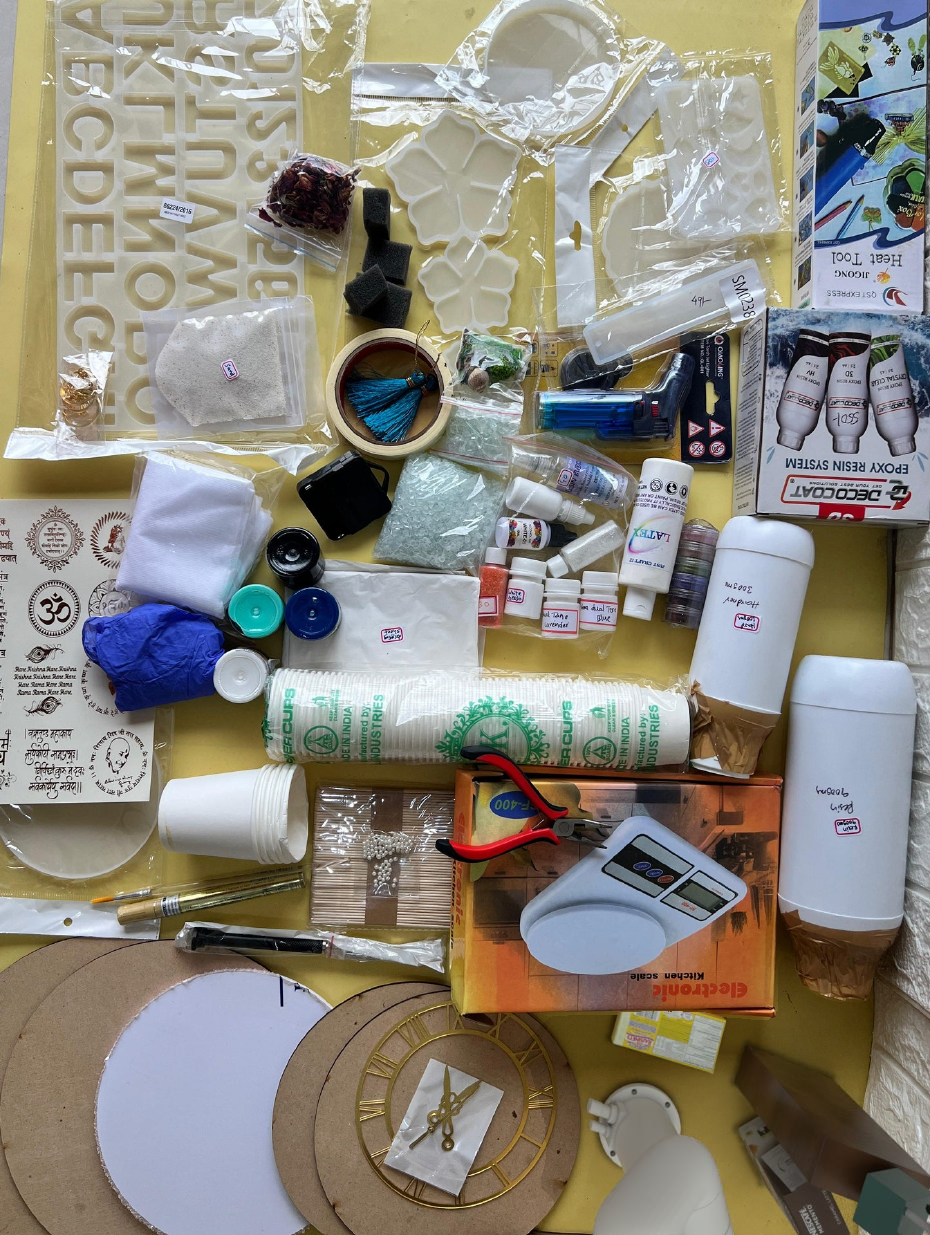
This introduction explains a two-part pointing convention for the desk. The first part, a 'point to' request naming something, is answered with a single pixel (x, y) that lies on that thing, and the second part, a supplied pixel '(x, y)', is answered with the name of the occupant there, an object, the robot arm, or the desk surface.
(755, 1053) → the brown slanted block
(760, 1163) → the coffee box
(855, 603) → the desk surface
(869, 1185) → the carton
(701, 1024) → the candy box
